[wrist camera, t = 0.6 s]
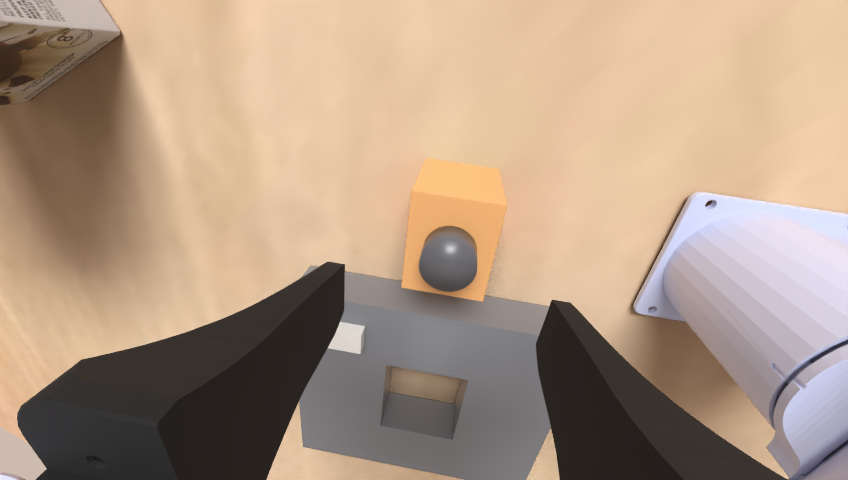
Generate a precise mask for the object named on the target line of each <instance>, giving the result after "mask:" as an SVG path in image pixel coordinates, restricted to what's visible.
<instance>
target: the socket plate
mask: <svg viewBox="0 0 848 480" xmlns="http://www.w3.org/2000/svg"><path fill="white" fill-rule="evenodd" d="M316 268H318V267H316V266H310V267H309V269H308V270H307V271H306V272H305V274H304V275H303V276H302V277H304V276H305V275H307V274H309V273H310V272H312V271H313V270H315V269H316ZM302 277H301V278H302ZM401 286H402V281H397V280H392V279H386V278H380V277H374V276H368V275H363V274H357V273H351V272H345V294H344V313H343V315H342V318H341V320H340V323H339V326H338V328H337V331H336V333H335V335H334V337H333V339H332V341H331V343H330V345H329V346H328V348H327V350H326V352H325V354H324V356H323V357H322V359H321V361H320V363H319V365H318V366H317V368H316V370H315V372H314V373H313V375H312V377H311V379H310V381H309V382H308V384H307V386H306V388H305V390H304V392H303V394H302V396H301V398H300V400H299V403H300V415H301V427H302V440H303V447H307V448H312V449H317V450H322V451H326V452H331V453H336V454H341V455H346V456H351V457H356V458H361V459H366V460H371V461H376V462H381V463H386V464H391V465H396V466H401V467H406V468H411V469H416V470H421V471H426V472H431V473H436V474H441V475H445V476H450V477H455V478H460V479H465V480H526V479H527V476H528V474H529V472H530V470H531V468H532V466H533V464H534V462H535V460H536V457H537V455H538V453H539V451H540V449H541V447H542V445H543V443H544V441H545V438H546V436H547V434H548V432H549V430H550V428H551V425H550V421H549V416H548V412H547V408H546V404H545V400H544V395H543V391H542V387H541V382H540V378H539V373H538V365H537V355H536V342H537V339H538V337H539V334H540V331H541V328H542V326H543V323H544V320H545V318H546V315H547V312H548V309H549V306H543V305H537V304H531V303H525V302H520V301H514V300H508V299H502V298H496V297H491V296H484V300H483V302H482V301H476V300H471V299H465V298H459V297H453V296H447V295H442V294H436V293H430V292H424V291H418V290H413V289H407V288H401ZM392 366H394V367H399V368H404V369H410V370H415V371H421V372H426V373H431V374H437V375H442V376H448V377H453V378H458V379H461V380H460V384H459V388H458V392H457V396H456V400H455V404H450V403H444V402H439V401H434V400H429V399H423V398H418V397H413V396H408V395H402V394H397V393H392V392H389V386H390V376H391V367H392Z"/></svg>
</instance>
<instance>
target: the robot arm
mask: <svg viewBox="0 0 848 480" xmlns="http://www.w3.org/2000/svg"><path fill="white" fill-rule="evenodd" d="M710 200H712V203H711V204H710V205H708V206H705V204H706V203H707V202H708V201H710ZM847 226H848V214H846V213H840V212H833V211H826V210H820V209H813V208H806V207H800V206H793V205H786V204H780V203H773V202H766V201H760V200H753V199H746V198H740V197H733V196H726V195H720V194H713V193H707V192H696V193H693V194H692V195H691V196H690V197H689V198H688V199H687V201H686V203H685V205H684V207H683V209H682V211H681V213H680V215H679V217H678V219H677V220H676V222H675V224H674V226H673V228H672V230H671V232H670V234H669V236H668V238H667V240H666V242H665V244H664V246H663V248H662V250H661V251H660V253H659V255H658V257H657V259H656V261H655V263H654V265H653V267H652V269H651V271H650V273H649V275H648V277H647V279H646V281H645V282H644V284H643V286H642V288H641V290H640V292H639V294H638V296H637V298H636V300H635V302H634V304H633V307H634V309H635V311H636V312H637V313H639V314H643V315H648V316H654V317H660V318H666V319H672V320H678V321H684V322H686V323H687V324H688V325H689V326H690V328H691V329H692V330H693V331H694V332H695V334H696V335H697V336H698V337H699V339H700V340H701V341H702V342H703V343H704V345H705V346H706V347H707V348H708V350H709V351H710V352H711V353H712V354H713V356H714V357H715V358H716V359H717V361H718V362H719V363H720V364H721V365H722V367H723V368H724V369H725V370H726V371H727V373H728V374H729V375H730V376H731V378H732V379H733V380H734V381H735V382H736V384H737V385H738V386H739V387H740V389H741V390H742V391H743V392H744V393H745V395H746V396H747V397H748V398H749V400H750V401H751V402H752V403H753V404H754V406H755V407H756V408H757V409H758V411H759V412H760V413H761V414H762V415H763V417H764V418H765V419H766V420H767V422H768V423H769V424H770V425H771V426H772V428H773V429H774V430H775V436H774V438H773V440H772V441H771V442H770V443H769V445H768V446H767V449H768V451H769V452H770V453H771V454H772V456H773V457H774V458H775V460H776V461H777V462H778V464H779V465H780V466H781V468H782V469H783V470H784V472H785V473H786V474H787V475H788V477H789V478H788V479H785V478H784V477H782V476H780V475H779V474H777V473H775V472H774V471H772V470H770V469H769V468H767V467H765V466H764V465H762V464H761V463H759V462H758V461H756V460H755V459H753V458H752V457H750V456H748V455H747V454H745V453H744V452H742V451H741V450H739V449H738V448H736V447H735V446H733V445H732V444H730V443H729V442H727V441H726V440H724V439H723V438H721V437H720V436H719V435H717V434H716V433H714V432H713V431H711V430H710V429H709V428H707V427H706V426H705V425H703V424H702V423H700V422H699V421H698V420H696V419H695V418H694V417H692V416H691V415H690V414H688V413H687V412H686V411H684V410H683V409H682V408H680V407H679V406H678V405H677V404H675V403H674V402H673V401H672V400H670V399H669V398H668V397H667V396H666V395H664V394H663V393H662V392H661V391H660V390H658V389H657V388H656V387H655V386H653V385H652V384H651V383H650V382H649V381H648V380H647V379H645V378H644V377H643V376H642V375H641V374H640V373H639V372H638V371H637V370H636V369H635V368H634V367H632V366H631V365H630V364H629V363H628V362H627V361H626V360H625V359H624V358H623V357H622V356H621V355H620V354H619V353H618V352H617V351H616V350H615V349H614V348H613V347H612V346H611V345H610V344H609V343H608V342H607V341H606V340H605V339H604V338H603V337H602V336H601V335H600V333H599V332H598V331H597V330H596V329H595V328H594V327H593V326H592V325H591V324H590V323H589V322H588V321H587V320H586V318H585V317H584V316H583V315H582V314H581V313H580V312H579V311H578V310H577V309H576V308H575V307H574V306H573V305H572V304H571V303H568V302H562V301H556V300H552V301H551V304H550V307H549V309H548V312H547V315H546V318H545V320H544V323H543V326H542V328H541V331H540V334H539V337H538V339H537V342H536V355H537V365H538V373H539V378H540V382H541V387H542V391H543V395H544V400H545V404H546V408H547V412H548V416H549V421H550V425H551V429H552V433H553V438H554V443H555V448H556V453H557V461H558V468H559V476H560V480H848V227H847ZM344 294H345V264H339V263H333V262H326V263H325V264H323V265H321V266H320V267H318V268H316V269H315V270H313V271H312V272H310V273H309V274H307V275H305V276H304V277H302V278H300V279H299V280H297V281H296V282H294V283H292V284H291V285H289V286H287V287H286V288H284V289H282V290H280V291H278V292H277V293H275V294H273V295H271V296H269V297H267V298H266V299H264V300H262V301H260V302H258V303H256V304H254V305H252V306H250V307H248V308H246V309H244V310H242V311H240V312H237V313H235V314H233V315H230V316H228V317H226V318H223V319H221V320H218V321H216V322H213V323H210V324H208V325H205V326H202V327H199V328H197V329H194V330H191V331H189V332H186V333H183V334H180V335H176V336H173V337H170V338H167V339H164V340H160V341H157V342H153V343H150V344H146V345H142V346H139V347H135V348H131V349H127V350H122V351H118V352H114V353H110V354H105V355H101V356H97V357H92V358H88V359H83V360H81V361H79V362H78V363H77V364H75V365H74V366H73V367H72V368H70V369H69V370H68V371H66V372H65V373H64V374H62V375H61V376H60V377H58V378H57V379H56V380H54V381H53V382H52V383H51V384H49V385H48V386H47V387H45V388H44V389H43V390H41V391H40V392H39V393H37V394H36V395H35V396H34V397H32V398H31V399H30V400H28V401H27V402H26V403H24V404H23V405H22V406H21V408H20V409H19V411H18V415H17V420H18V427H19V428H20V430H21V432H22V434H23V436H24V437H25V439H26V440H27V441H28V443H29V444H30V446H31V447H32V448H33V450H34V451H35V453H36V454H37V455H38V457H39V458H40V459H41V461H42V462H43V464H44V465H45V466H46V468H47V469H46V470H45V471H44V472H43V473H42V474H41V475H40V476H39V477H38V478H37V479H36V480H266V479H267V476H268V474H269V471H270V469H271V466H272V463H273V461H274V458H275V456H276V454H277V451H278V449H279V446H280V444H281V441H282V439H283V437H284V434H285V432H286V429H287V427H288V425H289V422H290V420H291V418H292V415H293V413H294V411H295V408H296V406H297V404H298V402H299V400H300V398H301V396H302V394H303V392H304V390H305V388H306V386H307V384H308V382H309V381H310V379H311V377H312V375H313V373H314V372H315V370H316V368H317V366H318V365H319V363H320V361H321V359H322V357H323V356H324V354H325V352H326V350H327V348H328V346H329V345H330V343H331V341H332V339H333V337H334V335H335V333H336V331H337V328H338V326H339V323H340V320H341V318H342V315H343V313H344ZM652 306H654V307H653V308H652V309H649V308H650V307H652ZM0 480H25V479H23V478H22V477H19V476H16V475H13V474H8V473H3V472H0Z"/></svg>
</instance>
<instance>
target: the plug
mask: <svg viewBox="0 0 848 480" xmlns="http://www.w3.org/2000/svg"><path fill="white" fill-rule="evenodd" d="M506 209H507V203H506V199H505V194H504V190H503V186H502V182H501V178H500V174H499V170H498V169H495V168H488V167H481V166H475V165H468V164H462V163H455V162H448V161H442V160H435V159H429V158H427V159H426V161H425V163H424V166H423V168H422V170H421V172H420V174H419V176H418V178H417V180H416V183H415V185H414V187H413V189H412V193H411V202H410V211H409V220H408V230H407V239H406V248H405V258H404V267H403V276H402V286H401V288H407V289H413V290H418V291H424V292H430V293H436V294H442V295H447V296H453V297H459V298H465V299H471V300H476V301H482V302H483V300H484V296H485V292H486V288H487V284H488V280H489V276H490V272H491V268H492V264H493V260H494V256H495V252H496V248H497V244H498V240H499V236H500V233H501V229H502V225H503V221H504V217H505V213H506Z"/></svg>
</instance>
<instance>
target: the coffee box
mask: <svg viewBox="0 0 848 480" xmlns="http://www.w3.org/2000/svg"><path fill="white" fill-rule="evenodd" d="M120 33H121V32H120V29H119V28H118V26H117V25H116V23H115V22H114V20H113V19H112V18H111V16H110V15H109V13H108V12H107V10H106V9H105V7H104V6H103V4H102V3H101V2H100V0H0V105H5V104H16V103H23V102H27V101H28V100H30V99H31V98H33V97H34V96H35V95H37V94H38V93H39V92H41V91H42V90H44V89H45V88H46V87H48V86H49V85H50V84H52V83H53V82H55V81H56V80H57V79H59V78H60V77H62V76H63V75H64V74H66V73H67V72H69V71H70V70H71V69H73V68H74V67H76V66H77V65H78V64H80V63H81V62H82V61H84V60H85V59H87V58H88V57H89V56H91V55H92V54H94V53H95V52H96V51H98V50H99V49H101V48H102V47H103V46H105V45H106V44H108V43H109V42H110V41H112V40H113V39H114V38H116V37H117V36H119V35H120Z"/></svg>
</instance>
